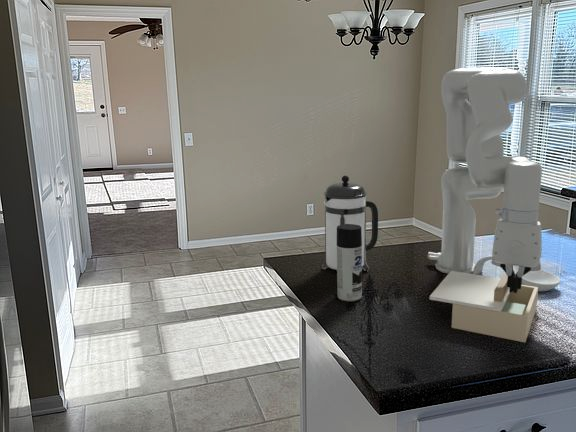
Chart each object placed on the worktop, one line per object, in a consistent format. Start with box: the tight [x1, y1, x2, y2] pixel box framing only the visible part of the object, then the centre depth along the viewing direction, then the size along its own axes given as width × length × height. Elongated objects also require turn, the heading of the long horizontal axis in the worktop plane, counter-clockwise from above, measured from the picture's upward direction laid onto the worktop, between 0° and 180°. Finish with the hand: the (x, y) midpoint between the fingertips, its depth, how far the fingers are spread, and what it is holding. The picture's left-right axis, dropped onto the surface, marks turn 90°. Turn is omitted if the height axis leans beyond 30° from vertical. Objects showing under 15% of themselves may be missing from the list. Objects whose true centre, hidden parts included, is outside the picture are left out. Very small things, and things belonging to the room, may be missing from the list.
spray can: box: [336, 224, 363, 302], centre depth 141 cm, size 7×7×20 cm
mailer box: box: [451, 285, 539, 343], centre depth 127 cm, size 16×20×6 cm
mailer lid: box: [429, 271, 510, 312], centre depth 129 cm, size 16×20×3 cm
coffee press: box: [321, 175, 379, 273], centre depth 162 cm, size 17×16×30 cm
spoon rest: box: [473, 254, 562, 292], centre depth 150 cm, size 24×12×7 cm, turn 45°
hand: (513, 290), depth 124 cm, fingers closed
